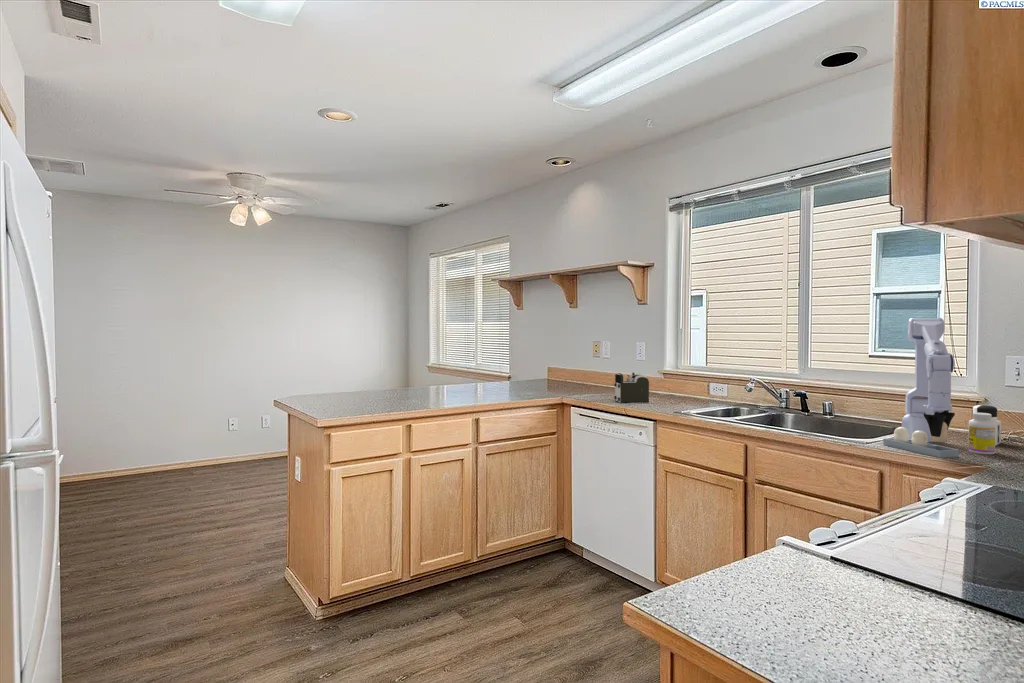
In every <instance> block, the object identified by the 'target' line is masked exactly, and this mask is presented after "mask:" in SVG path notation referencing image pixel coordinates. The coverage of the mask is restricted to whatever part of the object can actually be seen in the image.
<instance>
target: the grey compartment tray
mask: <svg viewBox="0 0 1024 683" xmlns="http://www.w3.org/2000/svg"><path fill="white" fill-rule="evenodd" d="M882 445H883V446H887V447H891V448H896V449H899V450H900V449H901V450H903V451H909V452H913V453H917V454H921V455H926V456H929V457H934V458H939V459H945V458H958V457H960V449H956V448H952V447H948V446H942V445H938V444H933V443H930V442H927V446H917V445H912V440H910V439H909V442H899V441H894V437H886V438H883V444H882Z"/></svg>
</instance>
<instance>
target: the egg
mask: <svg viewBox="0 0 1024 683" xmlns="http://www.w3.org/2000/svg"><path fill="white" fill-rule="evenodd" d="M948 430H949V428H948V427H947V424H946V423H945V422H943V425H942V431H941V435H940V437H935V436H931V441H936V442H935V443H937V442H938V443H947V442H948Z"/></svg>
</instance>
